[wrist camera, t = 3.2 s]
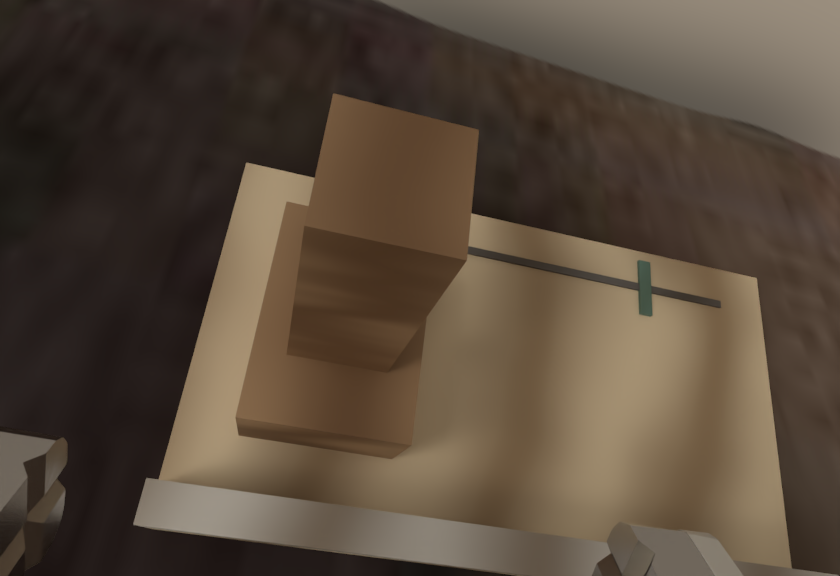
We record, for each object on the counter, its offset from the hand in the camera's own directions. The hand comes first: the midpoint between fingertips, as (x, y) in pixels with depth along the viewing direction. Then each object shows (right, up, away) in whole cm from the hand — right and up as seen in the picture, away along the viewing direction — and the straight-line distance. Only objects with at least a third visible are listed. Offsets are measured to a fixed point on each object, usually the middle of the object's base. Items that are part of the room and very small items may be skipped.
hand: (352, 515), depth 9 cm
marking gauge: (-2, +1, +12) cm, 13 cm away
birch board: (+4, -1, +15) cm, 15 cm away
